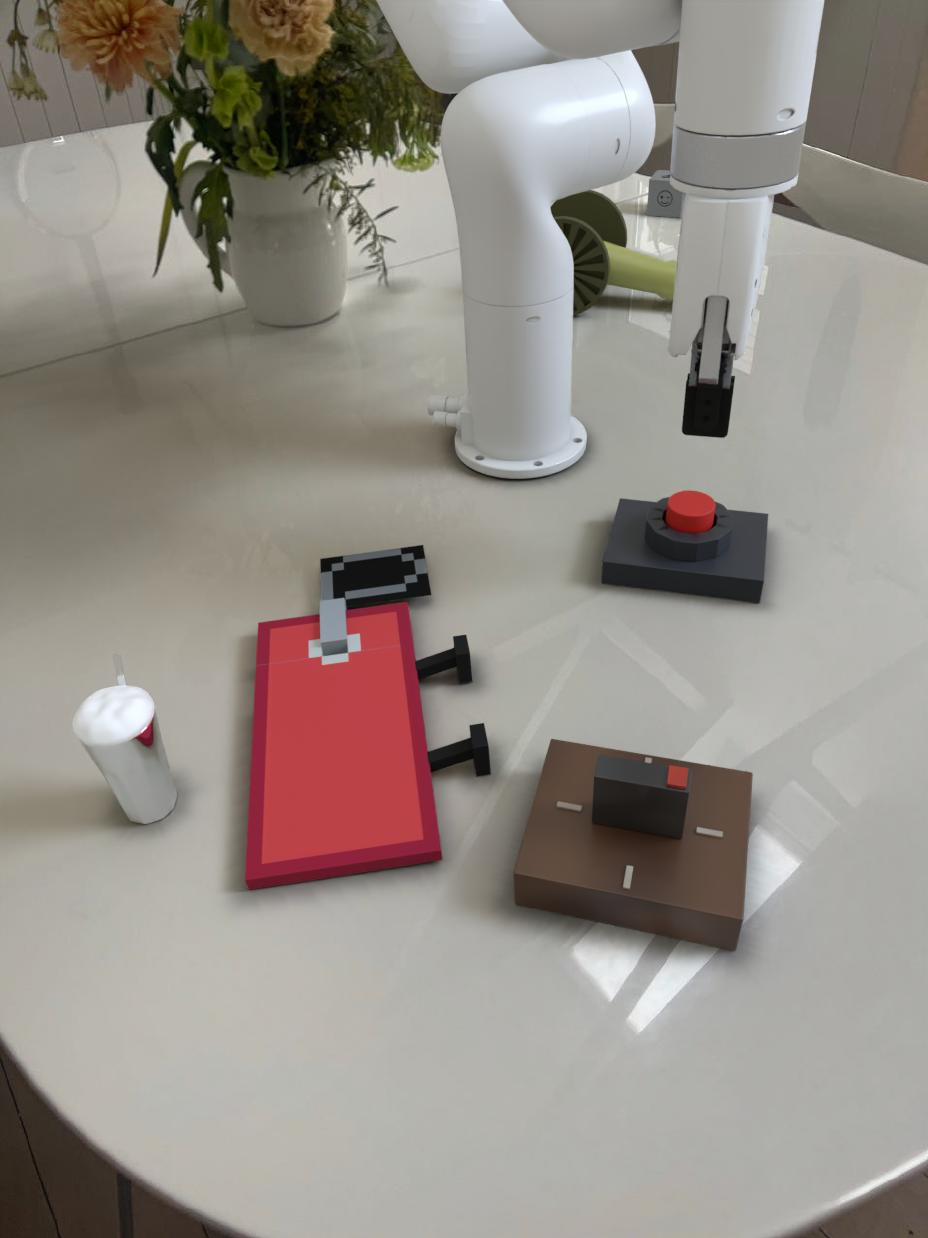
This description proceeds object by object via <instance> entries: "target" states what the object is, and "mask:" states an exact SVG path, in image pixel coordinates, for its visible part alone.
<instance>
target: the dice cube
mask: <svg viewBox="0 0 928 1238" xmlns="http://www.w3.org/2000/svg"><path fill="white" fill-rule="evenodd" d="M685 194H686V193H683V192H680V191H678V190H676V189H674V188H673V187H672V186H671V185H670V169H669V170H668V169H666V170H665V169H657V170H656V171H655V172H654V173H653V174H652V175H651V177H650V178H649V179H648V193H647V207H646V216H647V217H648V216H649V217H662V218H663V217H664V218H675V219H682V212H683V205H684V199H685Z"/></svg>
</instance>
